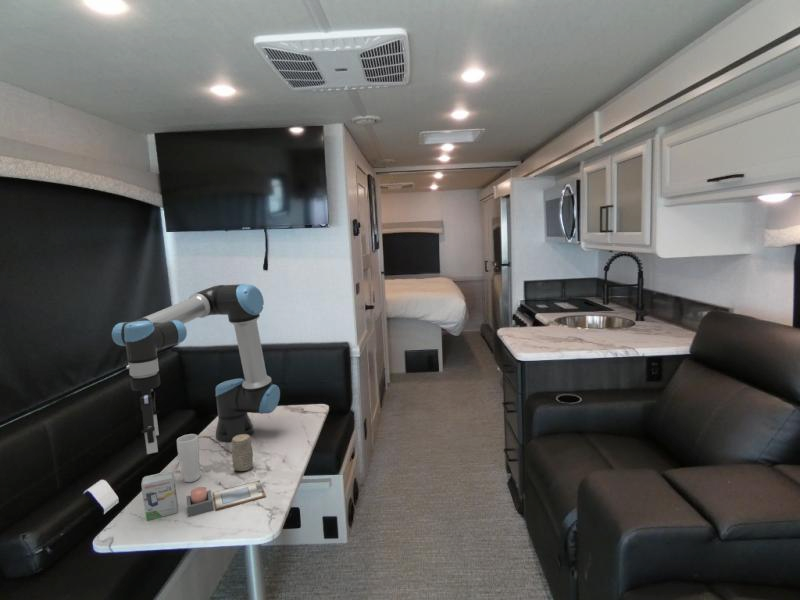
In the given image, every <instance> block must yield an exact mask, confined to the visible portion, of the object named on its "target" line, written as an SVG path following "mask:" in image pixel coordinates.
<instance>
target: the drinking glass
mask: <svg viewBox="0 0 800 600" xmlns="http://www.w3.org/2000/svg"><path fill="white" fill-rule="evenodd" d="M176 449H177V455H178V458H179V463H180V468H181V472H182V479H183V481H184V483H193V482H195V481H197V480H199V478H201V471H200V464H201V463H200V441H199V437H198V434H195V433H189V434H184V435H182V436H180V437H178V438H177V439H176Z"/></svg>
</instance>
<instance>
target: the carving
mask: <svg viewBox="0 0 800 600" xmlns="http://www.w3.org/2000/svg"><path fill="white" fill-rule="evenodd" d="M230 446H231V447H230V448H231V459H232V460H231V461H232V467H233V470H235V471H237V472H245V471H248V470H251V469H252V468H253V465H254V464H253V462H254V461H253V457H254V453H253V447H252V439H251V435H250V436H249V435H247V434H241V435H237V436H235V437H234V438H233V439H232V441H231V444H230Z"/></svg>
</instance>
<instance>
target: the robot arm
mask: <svg viewBox="0 0 800 600" xmlns="http://www.w3.org/2000/svg"><path fill="white" fill-rule="evenodd" d="M264 303H265V301H264V296H263V294H262V292H261V290H260V289H259V288H258V287H257V286H255V285H253V284H246V283H245V284H244V283H242V284H241V283H239V284H219V285H214V286H211V287H209V288H208V287H207V288H205V289H203V290H202V289H201V290H200V291H198V292H195V293H192V294H191V295H189V297H188V299H185V300H183V301H180V302H178V303H175V304H173V305H171V306H168V307H166V308H164V309H161V310H159V311H155V312H153V313H151V314H149V315H146V316H143V317H142V318H139V319H136V320H134V321H130V322H128V321H124V322H118V323H117V324H115V325H114V327H113V328H112V331H111V338H112V340H113V342H114V343H115V344H116V345H118V346H121V347H125V349H126V356H127V362H128V365H126V366H125V367H126V369H127V370H128V371H129V376H130V380H129V381H130V388H131V390H132V391H135V392H141V393H139V396H138V397H139V402H140V409H141V412H142V422H143V429H141V430H140V431H141V434H144V440H145V446H146V447H145V448H146V455H150V454H154V453H158V452H159V448H158V447H159V446H158V441H157V436H160V433H159V431H160V430H159V425H158V423H159V422H158V416H157V414H159V412H160V411H159V409H157V407H156V391H154V389H155V388H158V387H159V386H160V385H161V377H160V373H159V371H160V367H159V357H158V351H159V350H161V349H166V348H168V347H172V346H177V345H178V344H181V343H183V342H184V341H185V340H186V338H187V336H188V335H187V334H188V333H187V332H188V331H187V327H186V325H185V324H187V323H189V322H191V321H192V320H195V319H197V318H200V319H201V318H202V319H203V318H207V317H209V316H218V315H222V316H227V319H228V322H229V323H230V324H232V325H233V327H234V332H235V337H236V342H237V347H238V351H239V357H240V362H241V366H242V367H241V368H242V372H243V377H244V378H240V377H239V378H234V379H230V380H225V381H223V382H221V383H219V384H217V385H216V386H215V402H216V408H217V418H218V420H217V425H216V427H215V433H214V434H215V439H216V441H219V442H227V443H230V442H232V439H233V438H234V437H235V436H237V435H241V434H247V435H249V436H250V437H251V436H252V435H253V433H254V431H255V430H254V425H253V423H252V421H251V419H250V417H249V414H248V413H251V414H260V415H261V414H262V415H264V414H272V413H273V412H274V411H275V410H276V409H277V407H278V404H279V401H280V398H281V390H280V387H279V386H278V384H277V385H276V384H273V381H272V377H271V376H269V375H268V374H267V370H266V369H267V368H266V366H265V365H266V364H265V358H264V354H263V349H262V348H263V347H262V343H261V337H260V332H259V327H258V319H259V318H260V316H261V314H260V313H262V312H263V309H264Z"/></svg>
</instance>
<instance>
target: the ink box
mask: <svg viewBox="0 0 800 600" xmlns="http://www.w3.org/2000/svg"><path fill="white" fill-rule="evenodd" d="M140 483H141V491H142V498H143V499H142V500H143V503H144V504H143V506H144V511H145V512H144V513H145V519H146V521H151V520H155V519H159V518H162V517H167V516H169V515H174V514H177V513H178V511H179V502H178V495H177V487H176V480H175V473H174V471H173V470H169V471H164V472H160V473H156V474H150V475H145V476H144V477H142V480H141V482H140Z"/></svg>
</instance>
